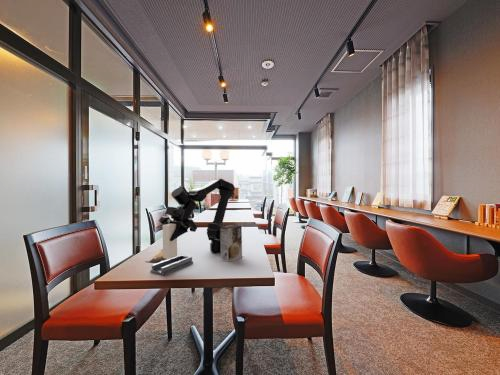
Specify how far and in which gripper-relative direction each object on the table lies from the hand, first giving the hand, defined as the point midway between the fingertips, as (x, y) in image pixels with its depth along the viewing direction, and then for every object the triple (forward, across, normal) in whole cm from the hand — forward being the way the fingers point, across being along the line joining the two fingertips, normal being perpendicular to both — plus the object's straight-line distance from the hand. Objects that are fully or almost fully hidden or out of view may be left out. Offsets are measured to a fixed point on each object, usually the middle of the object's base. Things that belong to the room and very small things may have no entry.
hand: (167, 240), depth 99 cm
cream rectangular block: (+4, 0, +6) cm, 8 cm away
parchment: (-1, -21, +21) cm, 30 cm away
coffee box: (-10, +14, +29) cm, 34 cm away
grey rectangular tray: (+6, -2, +13) cm, 14 cm away
